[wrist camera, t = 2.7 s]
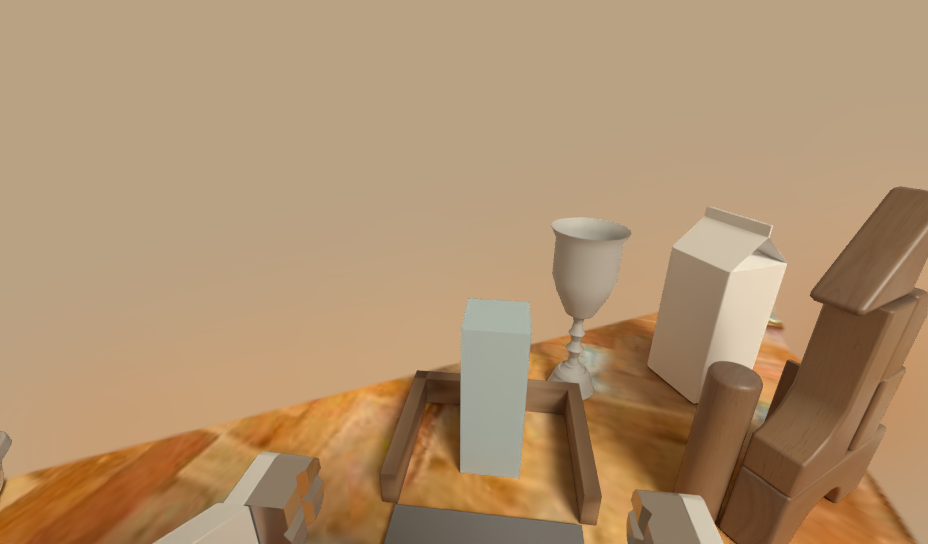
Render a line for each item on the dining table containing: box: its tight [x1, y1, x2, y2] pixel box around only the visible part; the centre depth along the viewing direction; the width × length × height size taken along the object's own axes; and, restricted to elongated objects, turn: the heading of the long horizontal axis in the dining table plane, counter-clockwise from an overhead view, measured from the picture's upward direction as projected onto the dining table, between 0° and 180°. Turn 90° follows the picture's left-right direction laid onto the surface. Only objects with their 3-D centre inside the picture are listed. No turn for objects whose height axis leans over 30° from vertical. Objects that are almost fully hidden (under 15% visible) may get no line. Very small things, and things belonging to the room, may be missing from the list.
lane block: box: [460, 298, 531, 479], centre depth 36 cm, size 5×5×14 cm
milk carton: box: [647, 206, 787, 404], centre depth 45 cm, size 7×7×19 cm
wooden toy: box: [673, 187, 928, 544], centre depth 30 cm, size 16×7×25 cm, turn 118°
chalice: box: [547, 218, 631, 400], centre depth 44 cm, size 7×7×18 cm
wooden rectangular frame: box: [380, 370, 602, 525], centre depth 38 cm, size 16×13×3 cm
